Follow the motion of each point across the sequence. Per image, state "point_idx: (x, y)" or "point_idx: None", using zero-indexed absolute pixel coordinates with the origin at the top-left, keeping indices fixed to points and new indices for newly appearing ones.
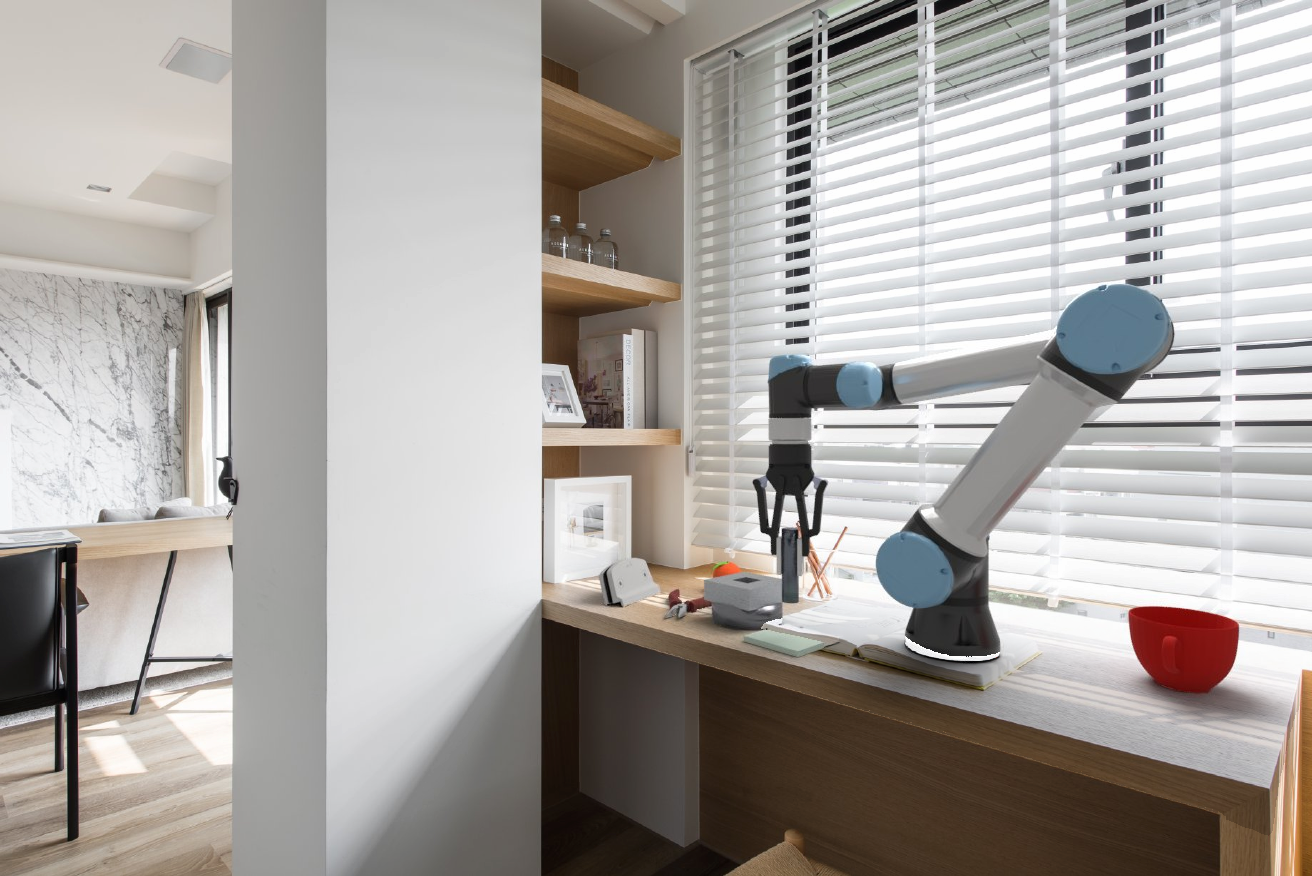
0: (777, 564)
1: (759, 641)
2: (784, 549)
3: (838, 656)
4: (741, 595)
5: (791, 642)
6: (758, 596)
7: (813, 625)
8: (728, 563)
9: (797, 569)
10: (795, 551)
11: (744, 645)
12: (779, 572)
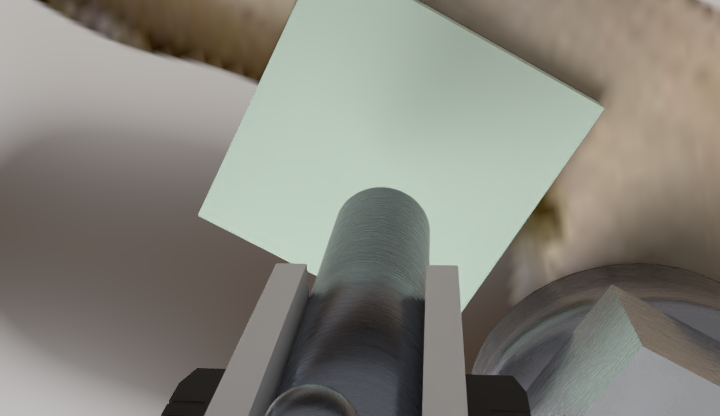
0: (453, 306)
1: (519, 59)
2: (386, 386)
3: (170, 24)
4: (680, 348)
5: (372, 75)
6: (583, 372)
7: None
8: None
9: (296, 286)
10: (286, 383)
11: (587, 45)
12: (436, 274)
